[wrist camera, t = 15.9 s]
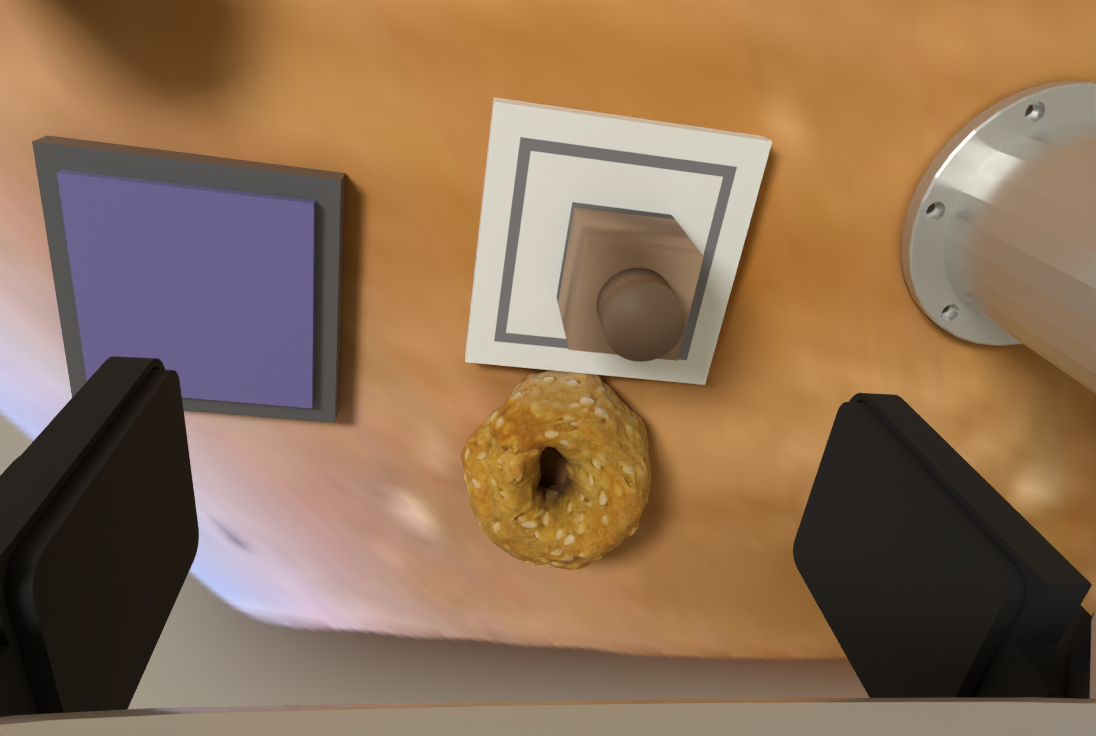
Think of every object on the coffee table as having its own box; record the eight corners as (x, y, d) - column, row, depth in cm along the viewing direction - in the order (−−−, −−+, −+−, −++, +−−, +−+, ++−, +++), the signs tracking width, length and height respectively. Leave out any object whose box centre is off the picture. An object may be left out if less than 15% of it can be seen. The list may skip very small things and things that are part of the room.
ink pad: (345, 173, 33) (338, 183, 31) (338, 409, 38) (333, 427, 37) (47, 135, 31) (25, 143, 30) (84, 388, 37) (67, 406, 35)
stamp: (671, 214, 34) (718, 274, 27) (650, 307, 36) (689, 384, 29) (572, 202, 33) (595, 260, 27) (556, 297, 35) (574, 373, 29)
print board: (763, 136, 34) (772, 141, 33) (699, 373, 39) (705, 384, 38) (493, 97, 32) (494, 101, 31) (465, 350, 37) (465, 362, 36)
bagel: (667, 369, 39) (688, 419, 35) (623, 535, 44) (636, 595, 40) (474, 347, 38) (471, 395, 33) (451, 520, 43) (447, 581, 39)
